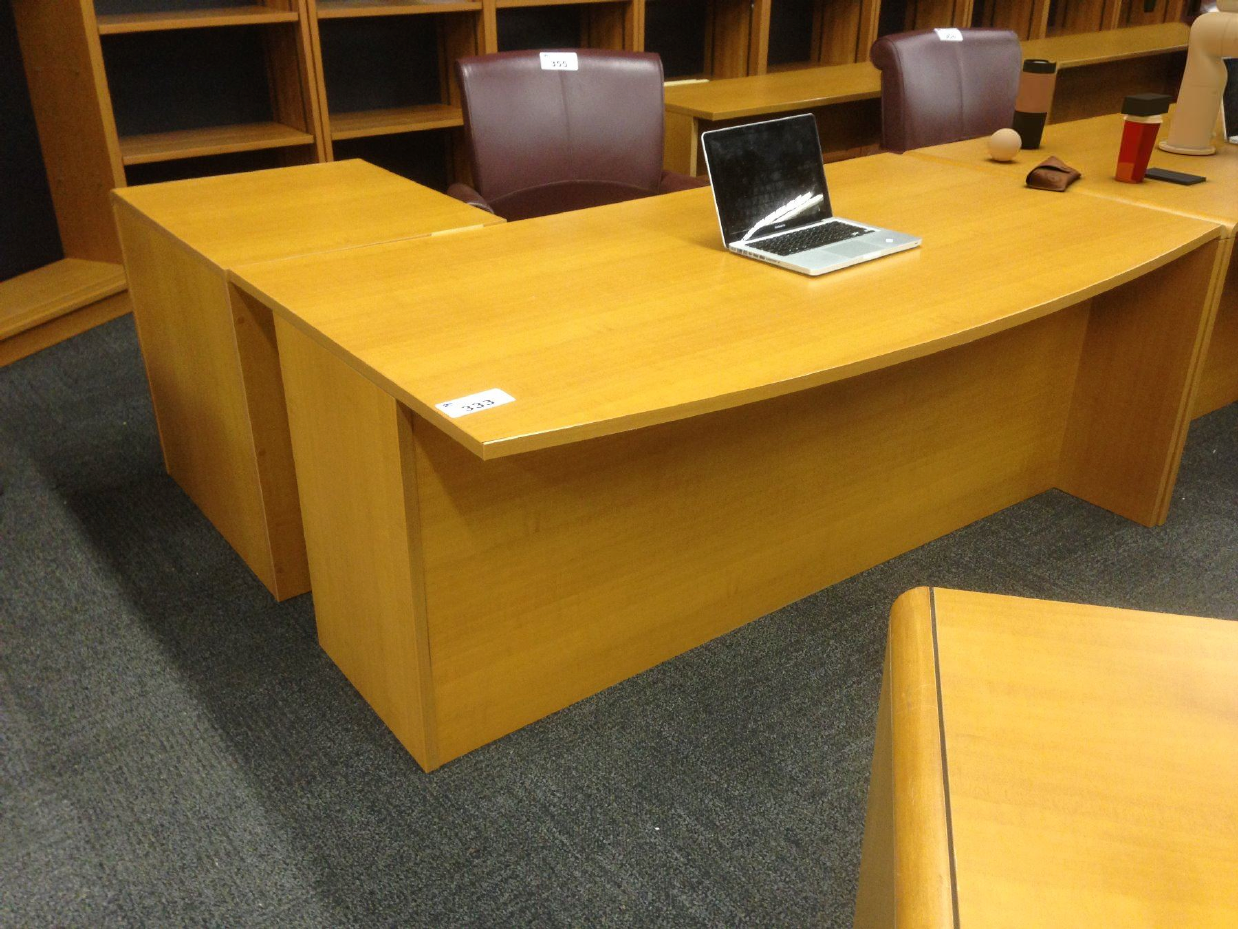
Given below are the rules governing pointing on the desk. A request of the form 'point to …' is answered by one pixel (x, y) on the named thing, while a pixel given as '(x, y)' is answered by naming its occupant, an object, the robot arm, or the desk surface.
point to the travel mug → (1033, 101)
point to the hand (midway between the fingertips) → (1169, 14)
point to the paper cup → (1136, 147)
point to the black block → (1146, 104)
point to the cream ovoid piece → (1004, 144)
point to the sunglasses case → (1052, 175)
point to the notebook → (1173, 176)
